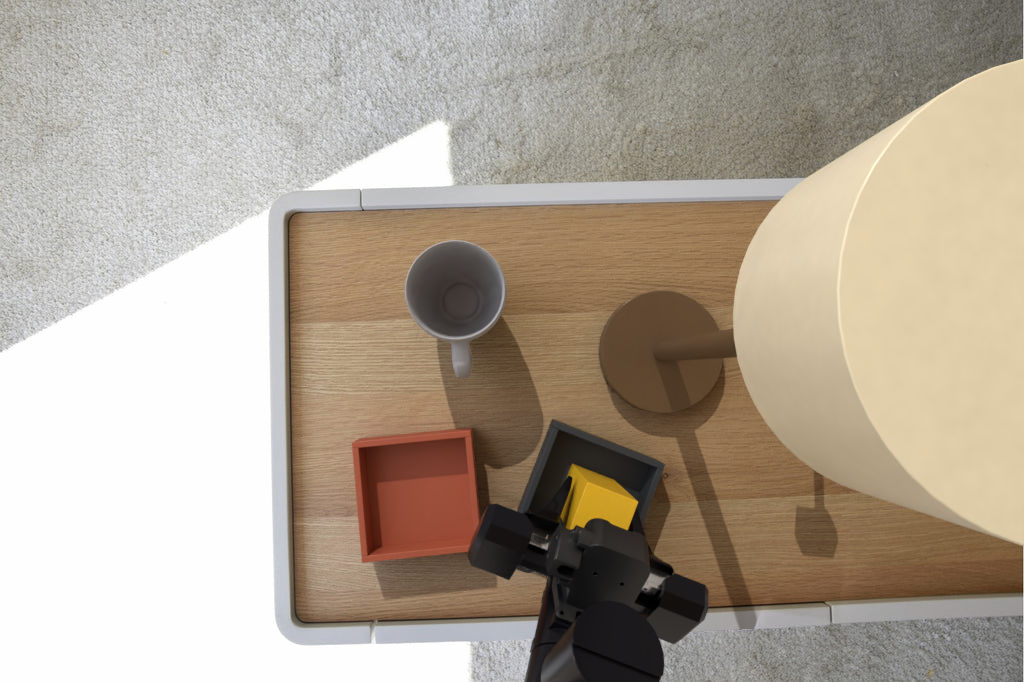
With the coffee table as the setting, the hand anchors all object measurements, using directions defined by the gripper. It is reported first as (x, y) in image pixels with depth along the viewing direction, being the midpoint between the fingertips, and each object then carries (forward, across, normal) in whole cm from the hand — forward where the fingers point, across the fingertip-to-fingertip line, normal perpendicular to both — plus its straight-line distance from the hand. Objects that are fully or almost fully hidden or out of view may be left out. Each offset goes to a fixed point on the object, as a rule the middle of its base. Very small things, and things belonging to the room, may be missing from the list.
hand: (599, 490), depth 59 cm
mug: (+12, +18, -2) cm, 22 cm away
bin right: (+4, 0, +6) cm, 7 cm away
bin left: (0, +15, +10) cm, 18 cm away
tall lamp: (+15, -2, -6) cm, 16 cm away
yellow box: (+3, 0, +5) cm, 6 cm away
